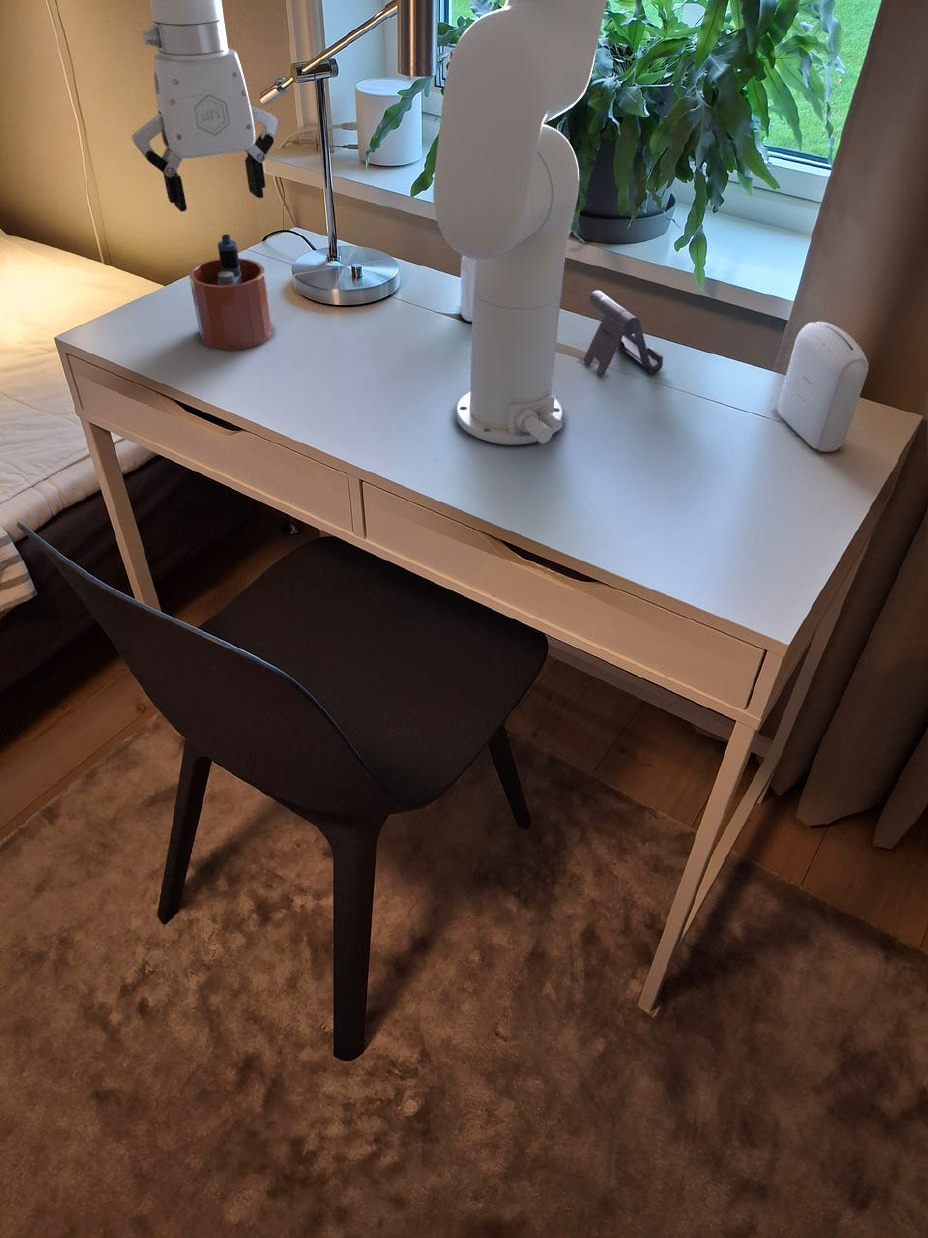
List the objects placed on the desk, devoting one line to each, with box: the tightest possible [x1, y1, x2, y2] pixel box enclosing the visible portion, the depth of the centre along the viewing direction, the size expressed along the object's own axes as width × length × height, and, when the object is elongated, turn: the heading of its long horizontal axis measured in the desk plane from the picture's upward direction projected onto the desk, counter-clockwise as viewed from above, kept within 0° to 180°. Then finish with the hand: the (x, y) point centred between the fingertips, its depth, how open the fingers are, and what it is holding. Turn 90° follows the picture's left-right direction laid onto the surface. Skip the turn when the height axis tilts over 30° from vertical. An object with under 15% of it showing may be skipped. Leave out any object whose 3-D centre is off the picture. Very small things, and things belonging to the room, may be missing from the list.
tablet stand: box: [583, 290, 664, 377], centre depth 118 cm, size 9×8×8 cm
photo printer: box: [777, 321, 869, 452], centre depth 106 cm, size 10×4×12 cm, turn 14°
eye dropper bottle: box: [459, 255, 475, 322], centre depth 127 cm, size 4×6×12 cm
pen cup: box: [189, 257, 273, 351], centre depth 122 cm, size 9×9×8 cm
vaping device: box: [217, 234, 242, 286], centre depth 120 cm, size 3×5×12 cm, turn 177°
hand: (219, 201), depth 113 cm, fingers open, 9 cm apart
